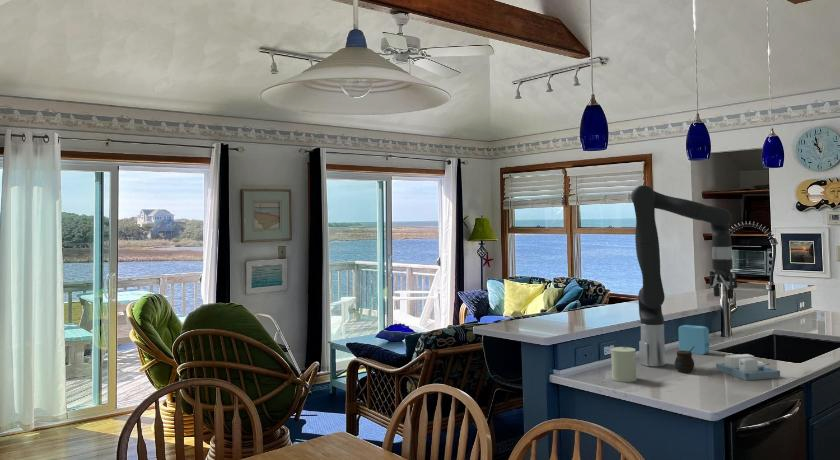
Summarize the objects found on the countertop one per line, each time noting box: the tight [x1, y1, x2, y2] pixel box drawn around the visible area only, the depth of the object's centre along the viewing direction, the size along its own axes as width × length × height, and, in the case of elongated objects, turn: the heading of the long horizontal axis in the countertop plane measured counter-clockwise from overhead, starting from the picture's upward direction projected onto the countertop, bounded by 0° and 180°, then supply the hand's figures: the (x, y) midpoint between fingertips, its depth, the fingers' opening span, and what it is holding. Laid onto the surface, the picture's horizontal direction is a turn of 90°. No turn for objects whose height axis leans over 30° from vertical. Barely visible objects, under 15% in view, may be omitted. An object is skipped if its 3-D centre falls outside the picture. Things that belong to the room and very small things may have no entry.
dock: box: [715, 353, 781, 381], centre depth 245 cm, size 14×18×6 cm
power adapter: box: [739, 357, 771, 373], centre depth 241 cm, size 11×5×6 cm, turn 103°
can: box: [610, 346, 637, 383], centre depth 243 cm, size 9×9×12 cm
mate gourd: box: [674, 346, 695, 374], centre depth 252 cm, size 7×8×10 cm
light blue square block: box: [678, 324, 710, 356], centre depth 286 cm, size 12×4×12 cm, turn 41°
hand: (723, 297), depth 258 cm, fingers open, 8 cm apart
